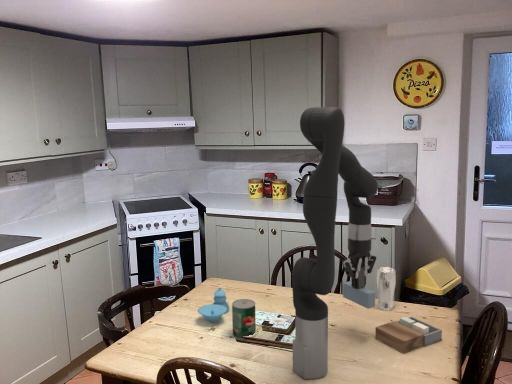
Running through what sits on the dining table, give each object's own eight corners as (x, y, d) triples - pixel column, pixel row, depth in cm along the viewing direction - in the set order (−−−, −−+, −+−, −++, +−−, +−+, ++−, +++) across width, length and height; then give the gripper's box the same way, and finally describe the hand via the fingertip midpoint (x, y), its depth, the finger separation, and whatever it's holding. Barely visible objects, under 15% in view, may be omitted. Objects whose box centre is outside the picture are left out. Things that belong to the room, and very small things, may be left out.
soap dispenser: (222, 328, 165) (221, 304, 163) (194, 326, 167) (193, 302, 166) (235, 308, 182) (235, 286, 181) (210, 306, 184) (209, 284, 183)
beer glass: (381, 311, 177) (383, 273, 175) (372, 304, 183) (373, 267, 181) (398, 309, 179) (399, 271, 176) (388, 302, 185) (389, 266, 183)
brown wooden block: (403, 353, 145) (403, 341, 145) (375, 338, 156) (375, 327, 155) (423, 346, 150) (423, 334, 149) (394, 331, 160) (395, 320, 159)
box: (424, 346, 150) (425, 336, 149) (394, 331, 160) (395, 321, 160) (441, 340, 154) (441, 330, 153) (411, 325, 164) (411, 316, 164)
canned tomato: (253, 340, 156) (252, 308, 154) (230, 338, 157) (229, 307, 156) (257, 329, 163) (257, 299, 162) (235, 328, 165) (235, 298, 163)
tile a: (423, 329, 150) (428, 327, 152) (412, 324, 154) (417, 322, 156) (423, 342, 151) (428, 340, 152) (412, 336, 155) (417, 335, 156)
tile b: (410, 323, 155) (415, 321, 156) (399, 318, 159) (405, 316, 160) (409, 335, 156) (415, 334, 157) (399, 330, 160) (404, 329, 161)
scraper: (368, 308, 151) (368, 272, 149) (343, 297, 161) (343, 263, 159) (374, 306, 152) (375, 271, 150) (349, 295, 162) (350, 261, 160)
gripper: (351, 242, 146) (350, 295, 149) (383, 235, 153) (382, 286, 156) (335, 237, 153) (335, 288, 155) (367, 231, 160) (366, 280, 162)
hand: (358, 287), depth 156 cm, fingers closed on scraper, 2 cm apart
